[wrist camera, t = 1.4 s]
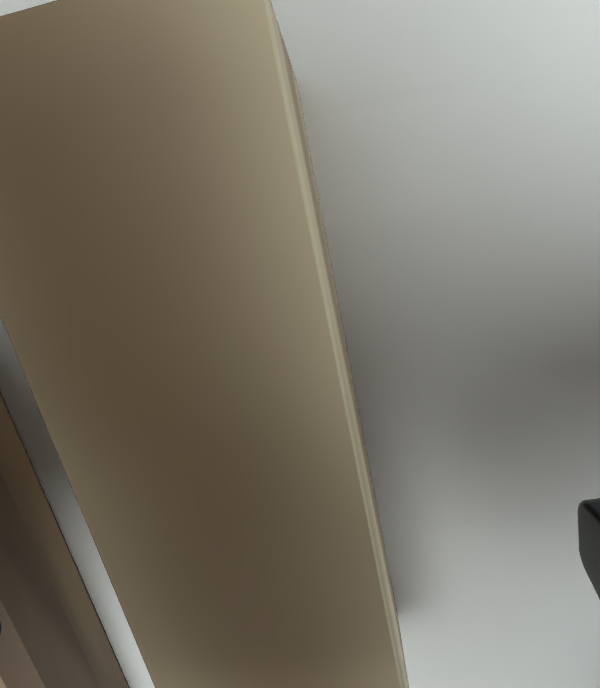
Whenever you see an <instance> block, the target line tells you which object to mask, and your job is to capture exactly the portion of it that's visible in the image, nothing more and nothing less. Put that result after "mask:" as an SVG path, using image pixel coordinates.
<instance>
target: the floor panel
mask: <svg viewBox="0 0 600 688" xmlns="http://www.w3.org/2000/svg"><path fill="white" fill-rule="evenodd" d="M0 619H1V624H2V630H1V635H0V688H129V687H128V685H127V682H126V680H125V678H124V676H123V673H122V671H121V669H120V666H119V664H118V662H117V660H116V657H115V655H114V653H113V650H112V648H111V646H110V644H109V641H108V639H107V637H106V634H105V632H104V630H103V628H102V625H101V623H100V621H99V618H98V616H97V614H96V611H95V609H94V607H93V605H92V602H91V600H90V598H89V595H88V593H87V591H86V589H85V586H84V584H83V582H82V579H81V577H80V575H79V573H78V570H77V568H76V566H75V563H74V561H73V559H72V557H71V554H70V552H69V550H68V547H67V545H66V543H65V541H64V538H63V536H62V534H61V531H60V529H59V527H58V525H57V522H56V520H55V518H54V515H53V513H52V511H51V509H50V506H49V504H48V502H47V499H46V497H45V495H44V493H43V490H42V488H41V486H40V483H39V481H38V479H37V477H36V474H35V472H34V470H33V467H32V465H31V463H30V461H29V458H28V456H27V454H26V451H25V449H24V447H23V445H22V442H21V440H20V438H19V435H18V433H17V431H16V429H15V426H14V424H13V422H12V419H11V417H10V415H9V413H8V410H7V408H6V406H5V403H4V401H3V399H2V397H1V394H0Z"/></svg>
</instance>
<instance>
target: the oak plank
mask: <svg viewBox="0 0 600 688" xmlns="http://www.w3.org/2000/svg"><path fill="white" fill-rule="evenodd" d="M0 316H1V319H2V321H3V324H4V326H5V328H6V331H7V333H8V336H9V338H10V340H11V343H12V345H13V348H14V350H15V352H16V355H17V357H18V360H19V362H20V364H21V367H22V369H23V372H24V374H25V376H26V379H27V381H28V384H29V386H30V388H31V391H32V393H33V396H34V398H35V400H36V403H37V405H38V408H39V410H40V412H41V415H42V417H43V420H44V422H45V424H46V427H47V429H48V432H49V434H50V436H51V439H52V441H53V444H54V446H55V448H56V451H57V453H58V456H59V458H60V460H61V463H62V465H63V468H64V470H65V472H66V475H67V477H68V480H69V482H70V484H71V487H72V489H73V492H74V494H75V496H76V499H77V501H78V504H79V506H80V508H81V511H82V513H83V516H84V518H85V520H86V523H87V525H88V528H89V530H90V532H91V535H92V537H93V540H94V542H95V544H96V547H97V549H98V552H99V554H100V556H101V559H102V561H103V564H104V566H105V568H106V571H107V573H108V576H109V578H110V580H111V583H112V585H113V588H114V590H115V592H116V595H117V597H118V600H119V602H120V604H121V607H122V609H123V612H124V614H125V616H126V619H127V621H128V624H129V626H130V628H131V631H132V633H133V636H134V638H135V640H136V643H137V645H138V648H139V650H140V652H141V655H142V657H143V660H144V662H145V664H146V667H147V669H148V672H149V674H150V676H151V679H152V681H153V684H154V686H155V688H409V684H408V678H407V672H406V666H405V659H404V653H403V647H402V640H401V634H400V628H399V622H398V615H397V610H396V605H395V599H394V594H393V589H392V584H391V578H390V573H389V568H388V563H387V557H386V552H385V547H384V541H383V536H382V531H381V526H380V520H379V515H378V510H377V505H376V499H375V494H374V489H373V483H372V478H371V473H370V468H369V462H368V457H367V452H366V447H365V441H364V436H363V431H362V425H361V420H360V415H359V410H358V404H357V399H356V394H355V389H354V383H353V378H352V373H351V367H350V362H349V357H348V352H347V346H346V341H345V336H344V331H343V325H342V320H341V315H340V310H339V304H338V299H337V294H336V288H335V283H334V278H333V273H332V267H331V262H330V257H329V252H328V246H327V241H326V236H325V230H324V225H323V220H322V215H321V209H320V204H319V199H318V194H317V188H316V183H315V178H314V172H313V167H312V162H311V157H310V151H309V146H308V141H307V136H306V130H305V125H304V120H303V114H302V109H301V104H300V99H299V93H298V88H297V83H296V78H295V75H294V72H293V69H292V66H291V63H290V60H289V56H288V53H287V50H286V47H285V44H284V41H283V38H282V35H281V32H280V29H279V25H278V22H277V19H276V16H275V13H274V10H273V7H272V4H271V1H270V0H57V1H53V2H50V3H46V4H43V5H39V6H36V7H32V8H28V9H25V10H21V11H18V12H14V13H11V14H7V15H4V16H0Z"/></svg>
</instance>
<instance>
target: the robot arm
mask: <svg viewBox="0 0 600 688" xmlns="http://www.w3.org/2000/svg"><path fill="white" fill-rule="evenodd" d="M578 531H579V552H580V556H581V560H582V563H583V566H584V568H585V570H586V572H587V574H588V576H589V578H590V581H591V583H592V585H593V587H594V589H595V591H596V593H597V595H598V597H599V599H600V498H597V499H590V500H584V501H582V502H581V503H580V504H579V507H578ZM1 630H2V624H1V619H0V635H1Z"/></svg>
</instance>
